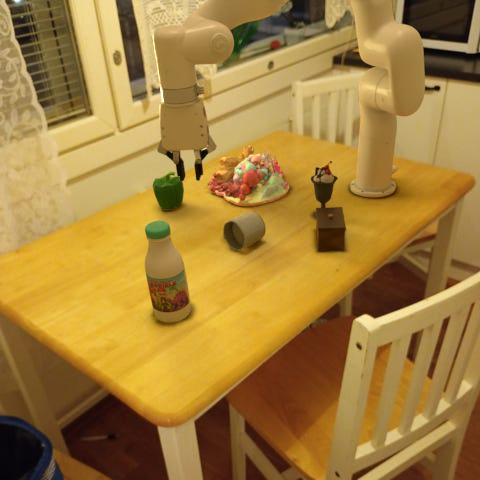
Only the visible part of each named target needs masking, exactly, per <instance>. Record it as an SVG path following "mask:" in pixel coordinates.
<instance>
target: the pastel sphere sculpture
mask: <svg viewBox="0 0 480 480" xmlns="http://www.w3.org/2000/svg"><path fill="white" fill-rule="evenodd" d="M254 152H255V147H253V146H252V145H250V144H247V145H244V146H243V148H242V153H241V152H240V153H239V157H238V156H228V155H227V156H223V157H221V158H220V159H219V160H218V163H219V164H220V165H221V166H220V168H219V169H218V170H217V171H216V172H215V173H213V174H212V177H210V178H209V182H208V183H207V185H206V186H209V188H208V191H209V192H211V193H212V194H214V193H215V195H217V196H220V197H223V198H224V200H225V201H227V202H228V203H231V204H233V205H235V206H240V207H253V206H260V205H264V204H266V203H267V204H268V203H271V202H274V201H277V200H279V199H280V198H283V197H285V196H286V195H287V194H288V192H289V191H290V184H289V182H288V181H285V180H284V178H283V175H284V172H283V170H281V166H280V165H279V163H278V162H279V161H278V160H277V157H276V154H274V155H273V158H272V157H271V153H270V151H269V150H267V155H266V152H265V150H263V153H256V154H255V153H254Z"/></svg>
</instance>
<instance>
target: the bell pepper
mask: <svg viewBox="0 0 480 480" xmlns="http://www.w3.org/2000/svg"><path fill="white" fill-rule="evenodd" d="M175 175H176V171H169V172H167V173H166V174H165V175H163V176H161V177H159V178H154V180H153V183H152V189H153V190H152V191H153V193H154V197H155V199H156V201H157V203H158V205H159V207H160V208H161V210H166V211H171V210H173V209H175V208H179V207H181V205H182V203H183V201H184V194H185V190H184V189H185V188H184V183H183V181H180V176H175ZM172 176H173V177H172Z"/></svg>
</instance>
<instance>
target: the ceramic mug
mask: <svg viewBox="0 0 480 480" xmlns="http://www.w3.org/2000/svg"><path fill="white" fill-rule="evenodd" d="M266 228H267V227H266V223H265V221H264V219H263V217H262V216H261V214H258V213H257V212H252V211H251V212H246V213H243V214H241V215H239V216H235V217H233V218H231V219H228V220H227V221H225V222H224V224H223V228H222V236H223V239H224V240H225V242H226V243H227V245H228V246H229V248H231V249H232V250H233V251H237V252H241V251H243V250H244V249H246V248H249V247H250V246H252V245H253V244H255V243H257V242H259V241H260V240H262V239H263V238H264V236H265V235H266V231H267V229H266Z"/></svg>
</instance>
